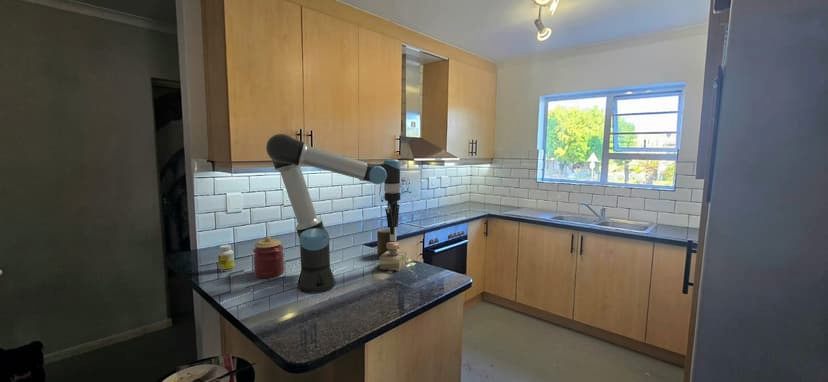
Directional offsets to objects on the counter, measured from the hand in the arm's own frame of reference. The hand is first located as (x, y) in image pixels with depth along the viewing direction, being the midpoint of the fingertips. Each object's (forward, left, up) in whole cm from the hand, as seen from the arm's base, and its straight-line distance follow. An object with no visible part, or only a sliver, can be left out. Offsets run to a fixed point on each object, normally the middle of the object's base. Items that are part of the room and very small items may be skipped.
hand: (393, 240), depth 168 cm
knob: (0, 0, -9) cm, 9 cm away
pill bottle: (-28, +74, -13) cm, 80 cm away
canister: (-26, +51, -13) cm, 59 cm away
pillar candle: (+16, +10, -13) cm, 23 cm away
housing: (0, 0, -13) cm, 13 cm away
